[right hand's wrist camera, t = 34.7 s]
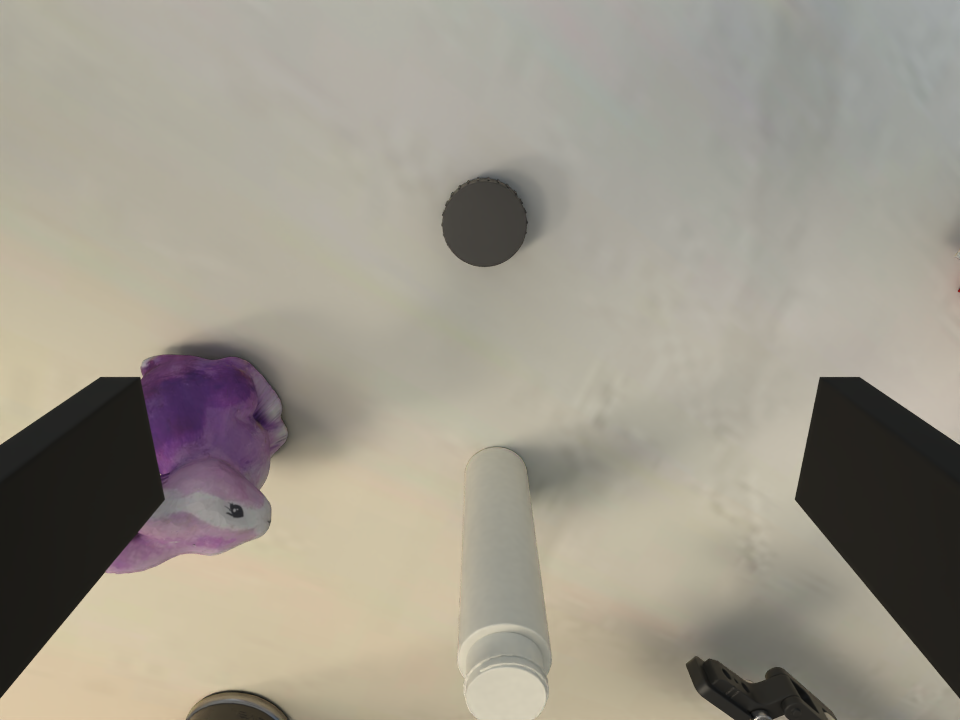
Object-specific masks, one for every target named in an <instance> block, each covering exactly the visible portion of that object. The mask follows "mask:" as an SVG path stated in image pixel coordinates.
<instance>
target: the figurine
mask: <svg viewBox="0 0 960 720" xmlns="http://www.w3.org/2000/svg"><path fill="white" fill-rule="evenodd" d="M141 372H142V375H143V378H142V379H141V384H142V389H143V394H144V399H145V403H146V408H147V413H148V418H149V423H150V428H151V433H152V438H153V443H154V448H155V453H156V457H157V462H158V467H159V472H160V474H161V475H160V477H161V482H162V487H163V492H164V497H165V500H164V502H163V503H162V504H161V505H160V506H159V508H158V509H157V510H156V511H155V512H154V514H153V515H152V516H151V517H150V518H149V520H148V521H147V522H146V523H145V524H144V526H143V527H142V528H141V529H140V531H139V532H138V533H137V534H136V535H135V537H134V538H133V539H132V540H131V541H130V543H129V544H128V545H127V546H126V547H125V549H124V550H123V551H122V552H121V553H120V555H119V556H118V557H117V558H116V559H115V561H114V562H113V563H112V564H111V565H110V567H109V568H108V569H107V570H106V573H116V574H123V573H133V572H139V571H144V570H147V569H149V568H152V567H155V566H157V565H159V564H161V563H163V562H165V561H167V560H169V559H171V558H173V557H176V556H178V555H180V554H187V553H194V554H200V555H208V556H212V555H218V554H221V553H223V552H226V551H228V550H230V549H232V548H234V547H236V546H238V545H241V544H243V543H245V542H248V541H251V540H254V539H256V538H259V537H261V536H262V535H264V534H265V533H266V531H267V530H268V528H269V526H270V523H271V505H270V503H269V501H268V500H267V498H266V497H265V496H264V495H263V493H262V492H261V491H260V489H261V487H262V486H263V484H264V483H265V481H266V479H267V476H268V473H269V468H270V458H271V457H272V456H273V454H274V453H275V452H276V451H278V449H279V448H280V447H281V446H282V445H283V444H284V443H285V441H286V439H287V437H288V431H287V428H286V426H285V424H284V422H283V421H282V419H281V413H282V404H281V400H280V399H279V398H278V395H277V394H276V392H275V391H274V390H273V389H272V387H271V385H270V384H269V383H268V382H267V381H266V379H265V378H264V377H263V376H262V375H261V374H260V373H259V372H258V370H257V369H255V368H254V366H253V365H252V364H250V363H249V362H248V361H246V360H243V359H241V358H239V357H225V358H222V359H217V360H208V359H204V358H201V357H196V356H191V355H158V356H153V357H150V358H147V359H146V360H144V361H143V362H142V365H141Z"/></svg>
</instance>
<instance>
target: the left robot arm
mask: <svg viewBox="0 0 960 720" xmlns="http://www.w3.org/2000/svg"><path fill="white" fill-rule="evenodd" d="M686 667H687V669H688V672H689V674H690V677H691V679H692V682H693V684H694V687H695V688H696V690H697V691H698V693H699V694H700V695H701V696H702V697H703V698H705V699H706V700H708V701H709V702H710V703H712V704H713V705H715V706H716V707H718V708H719V709H720V710H722V711H723V712H725V713H726V714H727V715H729V716H730V717H732V718H733V719H734V720H772V719H775V718H777V717H780V716H782V715H785V716H786V717H787V718H788V719H789V720H837V719H836V717H835V715H834V714H833V712H832V711H831V710H830V709H829V708H827V707H826V706H825V705H824V704H823V703H822V702H821V701H819V700H818V699H817V698H816V697H815V696H814V695H813V694H812V693H810V692H809V691H808V690H807V689H806V688H805V687H804V686H802V685H801V684H800V683H799V682H798V681H797V680H796V679H794V678H793V677H792V676H791V675H790V674H789V673H788V672H786V671H785V670H784V669H783V668H780V667H775V668H772V669H770V670H769V671H767V673H766V675H765V678H766V680H764V681H761V682H759V683H753V682H752V681H750V680H743V679H742V678H740V677H739V676H738V675H736V674H735V673H734V672H732V671H731V670H729V669H728V668H727V667H725V666H724V665H723V664H721V663H720V662H719V661H716V660H712V659H708V660H707V661H705V662H704V661H703V660H702V659H700V658H699V657H697V656H695V657H694V658H693V659H692V660H690V661H689V662H688V663H687V664H686ZM186 720H288V719H287V718H286V716H285V715H284V714H283V713H282V712H281V711H280V710H279V709H278V708H277V707H276V706H274V705H273V704H271V703H270V702H268V701H266V700H264V699H262V698H260V697H257V696H254V695H250V694H245V693H236V692H228V693H220V694H215V695H212V696H209V697H207V698H205V699H203V700H201V701H200V702H198V703H197V704H196V705H195V706H194V707H193V708H192V709H191V711H190V712H189V714H188V716H187V718H186Z"/></svg>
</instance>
